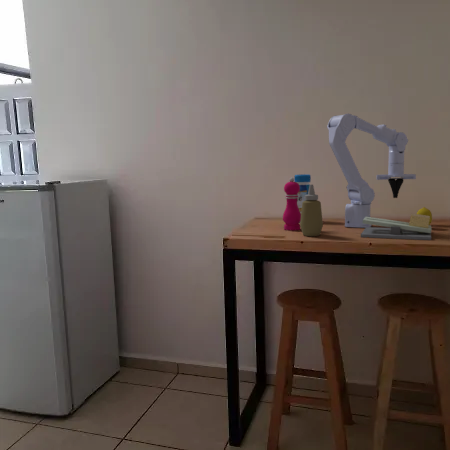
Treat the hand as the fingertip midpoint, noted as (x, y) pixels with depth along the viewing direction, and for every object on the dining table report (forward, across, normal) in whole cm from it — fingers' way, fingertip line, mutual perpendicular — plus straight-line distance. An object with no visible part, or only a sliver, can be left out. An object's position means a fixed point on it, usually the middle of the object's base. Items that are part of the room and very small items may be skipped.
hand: (395, 197), depth 183 cm
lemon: (+11, +9, -12) cm, 18 cm away
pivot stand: (+10, -2, -26) cm, 28 cm away
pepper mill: (+11, -39, -16) cm, 44 cm away
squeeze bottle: (+11, -31, -29) cm, 44 cm away
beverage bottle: (+11, -37, +4) cm, 39 cm away
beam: (+8, -3, -26) cm, 27 cm away
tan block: (+7, +4, -27) cm, 28 cm away
